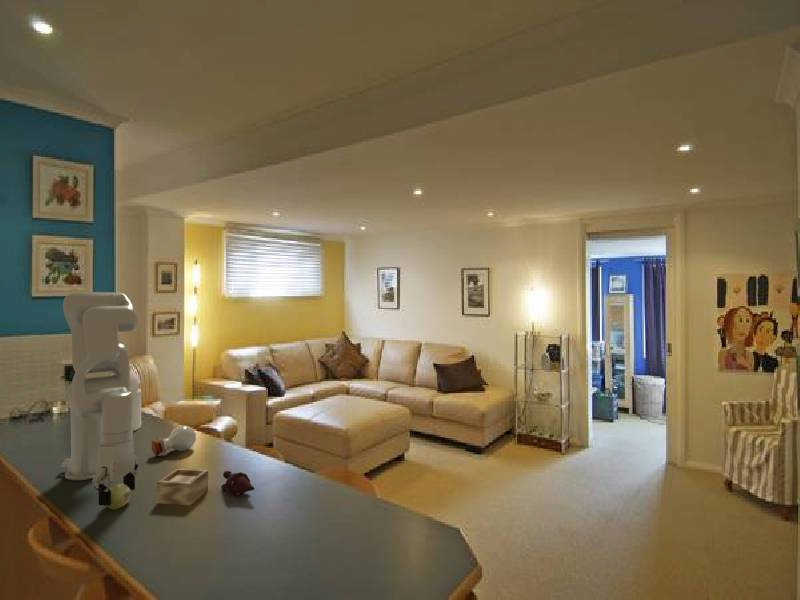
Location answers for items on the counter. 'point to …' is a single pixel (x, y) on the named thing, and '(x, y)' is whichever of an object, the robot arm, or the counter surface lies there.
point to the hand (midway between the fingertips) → (117, 497)
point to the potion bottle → (175, 441)
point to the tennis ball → (119, 496)
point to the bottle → (135, 398)
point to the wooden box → (182, 486)
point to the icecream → (236, 483)
